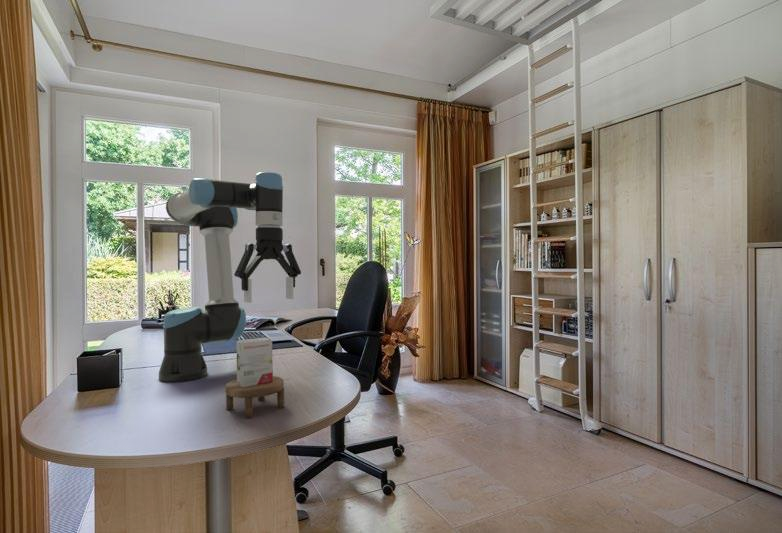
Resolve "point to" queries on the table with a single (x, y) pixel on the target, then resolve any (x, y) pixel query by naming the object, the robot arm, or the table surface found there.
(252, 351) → the ink box
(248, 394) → the footstool
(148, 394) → the table surface
